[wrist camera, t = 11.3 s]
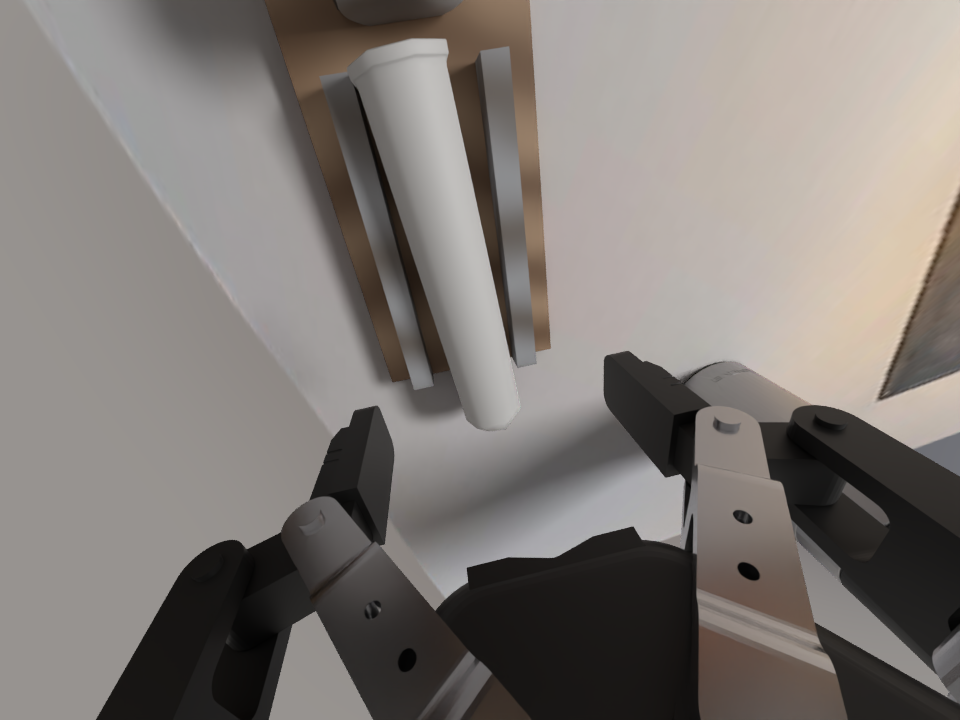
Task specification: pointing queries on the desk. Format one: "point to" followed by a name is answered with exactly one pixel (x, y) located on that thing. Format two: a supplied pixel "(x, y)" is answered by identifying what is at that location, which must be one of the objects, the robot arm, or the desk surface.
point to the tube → (440, 216)
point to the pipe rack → (488, 145)
